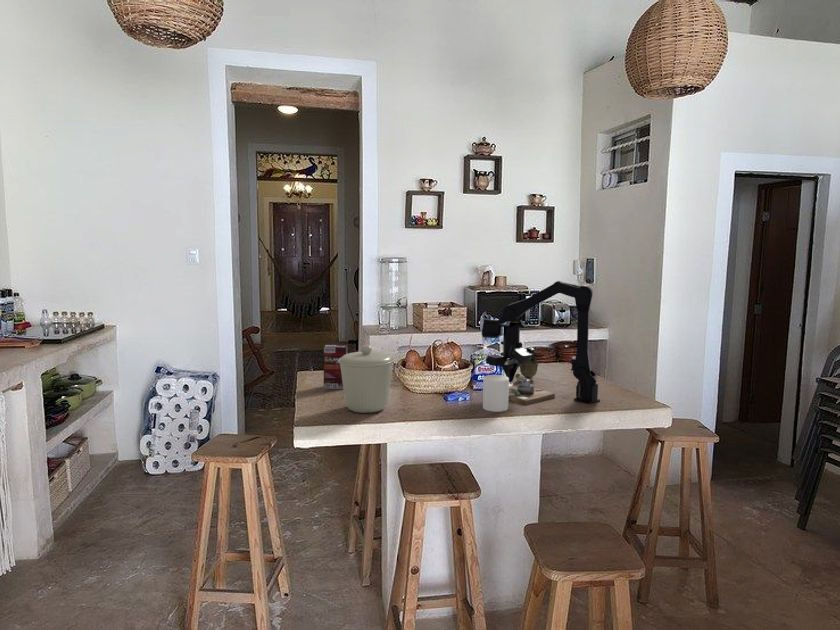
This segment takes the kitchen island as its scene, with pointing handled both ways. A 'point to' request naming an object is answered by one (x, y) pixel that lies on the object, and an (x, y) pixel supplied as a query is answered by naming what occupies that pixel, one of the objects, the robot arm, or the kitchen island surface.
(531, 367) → the cup
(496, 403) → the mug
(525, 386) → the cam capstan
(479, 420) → the kitchen island surface
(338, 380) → the supplement box
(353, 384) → the canister
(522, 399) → the stand
